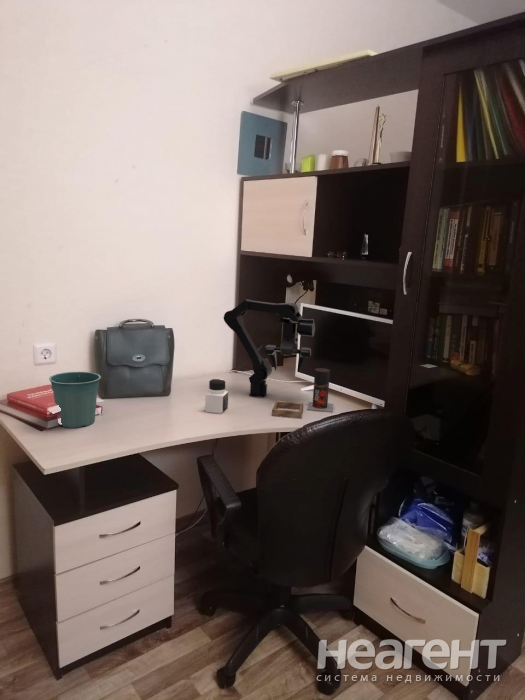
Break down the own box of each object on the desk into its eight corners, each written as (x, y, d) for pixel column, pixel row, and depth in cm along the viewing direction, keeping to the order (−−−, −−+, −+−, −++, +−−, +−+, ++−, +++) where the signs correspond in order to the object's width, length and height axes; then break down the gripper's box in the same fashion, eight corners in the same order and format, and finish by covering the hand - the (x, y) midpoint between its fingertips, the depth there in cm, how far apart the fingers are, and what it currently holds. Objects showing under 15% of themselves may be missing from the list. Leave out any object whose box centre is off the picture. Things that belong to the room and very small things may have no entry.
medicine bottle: (222, 414, 186) (223, 383, 184) (204, 412, 188) (205, 381, 185) (228, 408, 193) (229, 378, 191) (210, 406, 194) (211, 376, 192)
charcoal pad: (307, 410, 195) (307, 409, 195) (308, 402, 205) (308, 401, 205) (332, 412, 194) (332, 411, 194) (333, 404, 203) (333, 403, 203)
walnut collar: (271, 415, 187) (272, 409, 186) (275, 406, 197) (276, 400, 197) (301, 418, 185) (301, 412, 185) (303, 409, 196) (303, 403, 195)
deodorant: (328, 405, 201) (331, 369, 198) (325, 409, 196) (328, 372, 192) (314, 403, 203) (316, 367, 200) (310, 407, 197) (313, 370, 194)
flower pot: (83, 411, 183) (81, 368, 179) (111, 421, 173) (110, 377, 170) (41, 422, 170) (38, 377, 166) (69, 434, 160) (67, 386, 157)
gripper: (263, 335, 196) (261, 374, 199) (310, 339, 193) (308, 377, 197) (267, 331, 207) (265, 367, 210) (312, 334, 204) (309, 371, 207)
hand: (286, 371), depth 206 cm, fingers open, 9 cm apart
